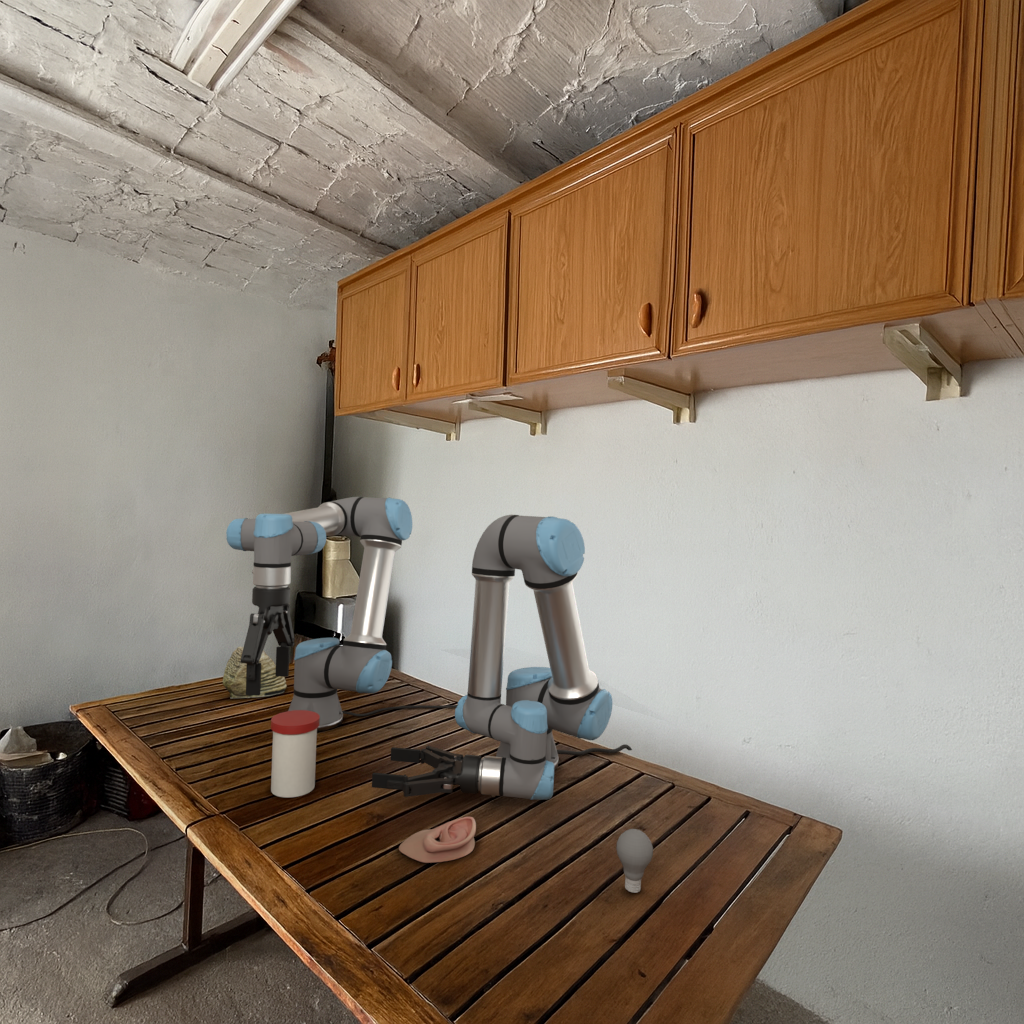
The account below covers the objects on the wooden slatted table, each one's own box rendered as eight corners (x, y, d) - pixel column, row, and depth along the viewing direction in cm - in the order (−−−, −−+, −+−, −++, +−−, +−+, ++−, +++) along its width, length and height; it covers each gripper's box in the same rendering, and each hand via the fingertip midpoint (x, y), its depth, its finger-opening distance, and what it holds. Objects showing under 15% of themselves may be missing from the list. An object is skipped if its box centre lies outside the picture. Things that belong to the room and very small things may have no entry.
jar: (270, 781, 140) (272, 714, 139) (313, 776, 143) (315, 711, 143) (271, 800, 131) (273, 729, 131) (316, 794, 135) (319, 725, 134)
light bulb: (610, 879, 108) (613, 822, 108) (644, 879, 109) (647, 822, 109) (619, 902, 102) (622, 840, 102) (655, 901, 103) (658, 840, 103)
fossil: (218, 695, 195) (220, 647, 195) (278, 685, 208) (279, 640, 207) (228, 703, 189) (230, 653, 188) (289, 692, 201) (290, 645, 201)
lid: (270, 720, 140) (270, 712, 140) (317, 716, 143) (317, 708, 143) (271, 736, 131) (271, 728, 130) (321, 732, 134) (321, 723, 134)
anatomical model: (392, 835, 112) (415, 805, 123) (391, 857, 112) (414, 825, 123) (465, 847, 109) (481, 815, 121) (464, 869, 109) (480, 835, 121)
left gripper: (280, 577, 148) (276, 668, 148) (223, 593, 123) (220, 702, 123) (311, 579, 147) (308, 670, 148) (261, 595, 122) (257, 704, 123)
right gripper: (470, 821, 121) (362, 811, 123) (487, 768, 146) (397, 760, 148) (472, 782, 121) (364, 773, 123) (489, 735, 146) (398, 728, 148)
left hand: (268, 685), depth 135 cm, fingers open, 13 cm apart
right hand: (382, 766), depth 135 cm, fingers open, 13 cm apart
